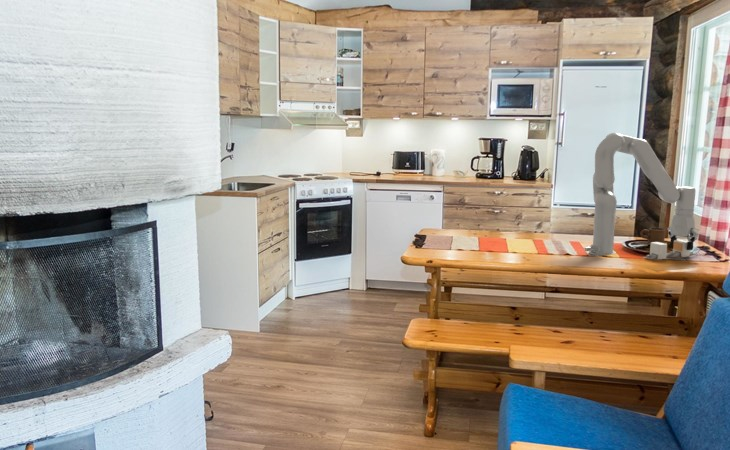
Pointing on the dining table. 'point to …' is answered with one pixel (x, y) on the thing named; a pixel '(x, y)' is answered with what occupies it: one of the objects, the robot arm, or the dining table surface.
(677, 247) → the white and orange block
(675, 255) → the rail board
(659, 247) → the white block
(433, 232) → the dining table surface
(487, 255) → the dining table surface
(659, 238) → the mug
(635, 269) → the dining table surface
